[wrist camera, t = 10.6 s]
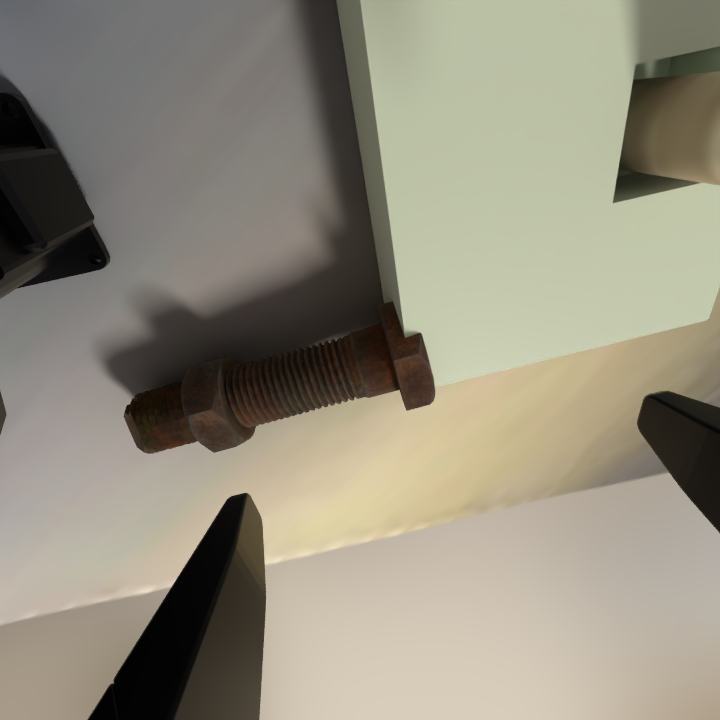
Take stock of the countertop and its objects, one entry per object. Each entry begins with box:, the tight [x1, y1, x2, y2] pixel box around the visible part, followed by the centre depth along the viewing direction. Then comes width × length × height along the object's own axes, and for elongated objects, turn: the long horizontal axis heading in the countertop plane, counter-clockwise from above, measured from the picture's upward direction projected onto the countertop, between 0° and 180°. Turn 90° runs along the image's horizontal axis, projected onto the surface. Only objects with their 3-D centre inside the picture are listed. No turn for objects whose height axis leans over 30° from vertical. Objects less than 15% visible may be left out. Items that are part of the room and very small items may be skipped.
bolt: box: [124, 301, 435, 454], centre depth 20 cm, size 6×5×15 cm
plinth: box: [336, 0, 720, 387], centre depth 16 cm, size 15×18×4 cm
